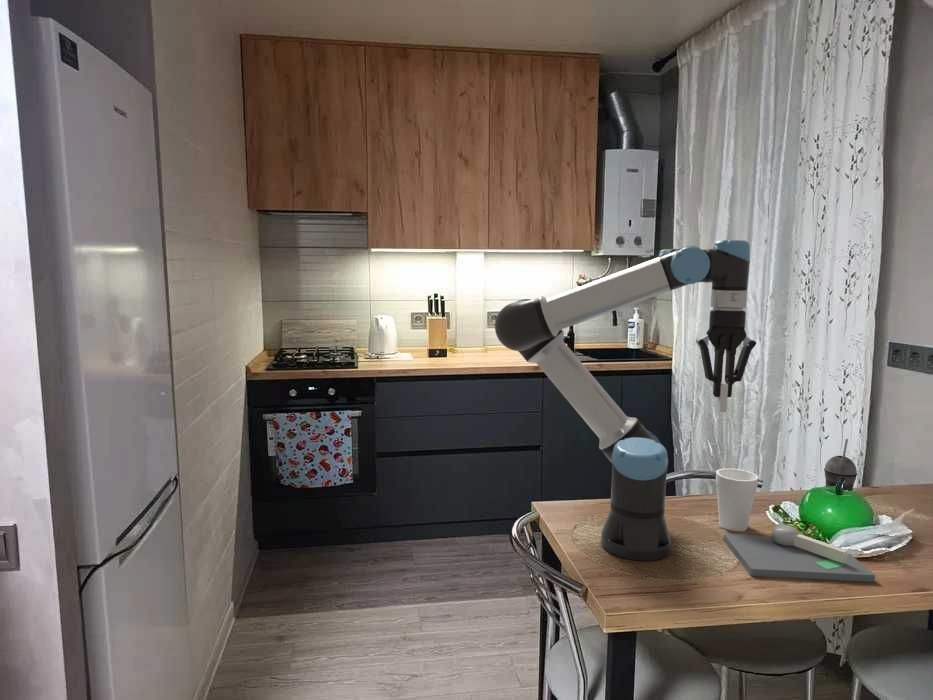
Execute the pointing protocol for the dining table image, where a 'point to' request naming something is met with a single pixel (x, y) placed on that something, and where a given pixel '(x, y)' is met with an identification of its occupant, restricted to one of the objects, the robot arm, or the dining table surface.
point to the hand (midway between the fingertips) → (721, 410)
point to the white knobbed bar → (807, 543)
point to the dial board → (792, 561)
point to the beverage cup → (840, 470)
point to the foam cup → (735, 497)
